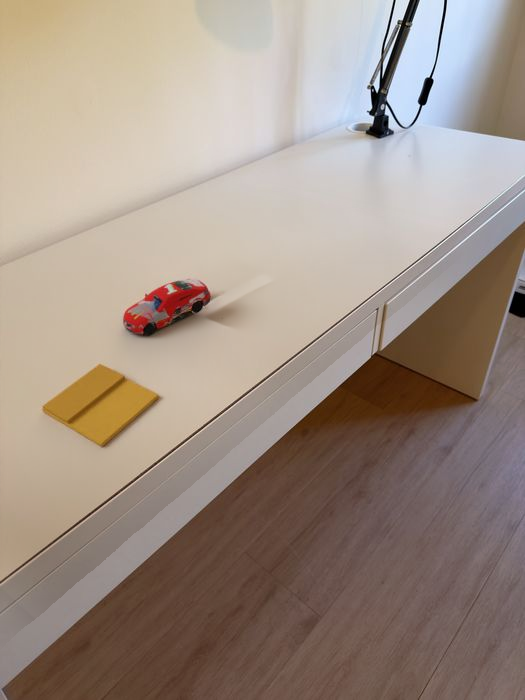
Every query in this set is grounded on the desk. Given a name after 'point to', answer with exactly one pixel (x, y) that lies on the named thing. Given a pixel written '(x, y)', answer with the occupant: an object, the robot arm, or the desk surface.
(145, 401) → the rag
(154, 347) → the desk surface
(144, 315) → the race car
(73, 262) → the desk surface
